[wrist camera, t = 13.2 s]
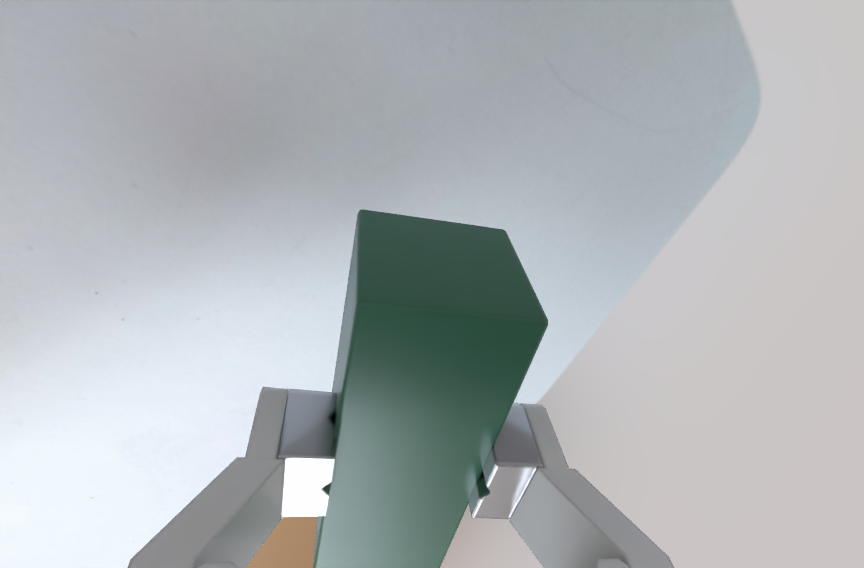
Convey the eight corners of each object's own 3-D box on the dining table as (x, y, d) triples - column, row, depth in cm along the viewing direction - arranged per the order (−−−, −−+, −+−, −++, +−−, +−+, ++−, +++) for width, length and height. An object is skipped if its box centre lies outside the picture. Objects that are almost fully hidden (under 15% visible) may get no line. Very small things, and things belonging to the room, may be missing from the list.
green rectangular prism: (358, 206, 9) (356, 302, 7) (506, 227, 10) (551, 322, 8) (321, 463, 14) (312, 576, 11) (426, 466, 14) (438, 574, 12)
